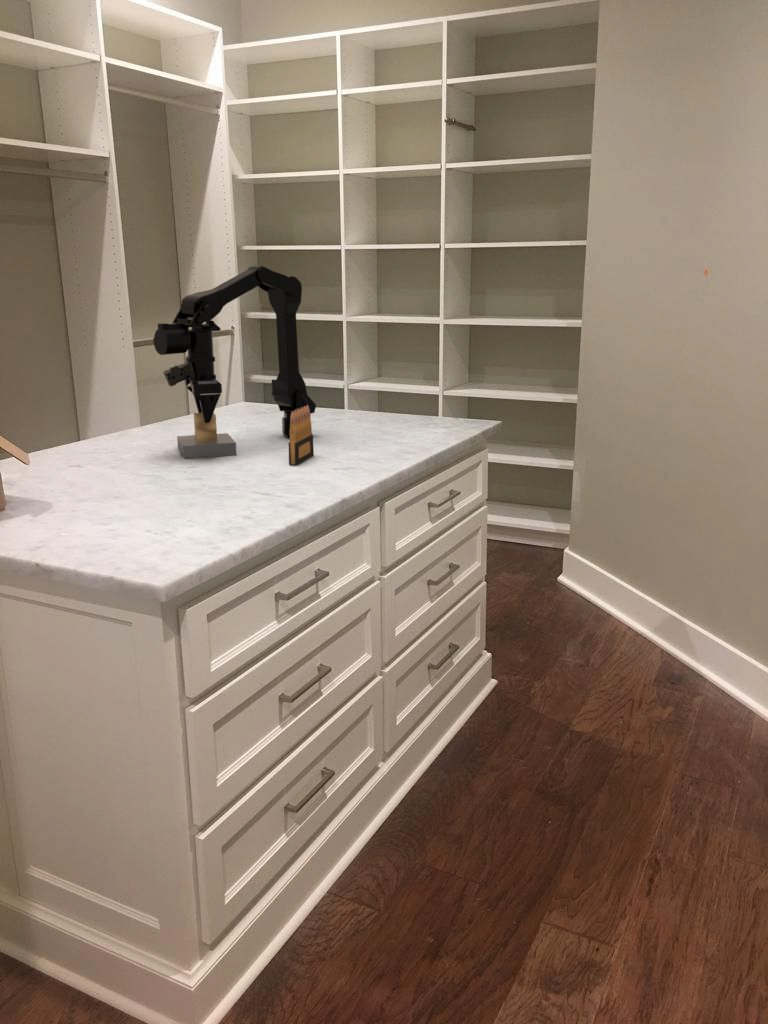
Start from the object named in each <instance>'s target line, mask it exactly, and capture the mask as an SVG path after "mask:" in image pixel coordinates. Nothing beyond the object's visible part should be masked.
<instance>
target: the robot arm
mask: <svg viewBox="0 0 768 1024" xmlns="http://www.w3.org/2000/svg"><path fill="white" fill-rule="evenodd" d="M255 288H259V289H260V291H261V290H262V291H264V292H266V293H267V296H268V300H269V304H270V306H271V307H272V310H273V312H274V313H275V317H276V318H275V320H276V338H277V339H276V340H277V354H278V355H277V356H278V369H279V370H278V371H279V372H278V375H277V377H276V379H271V383H270V384H271V389H272V390H271V391H272V392H271V396H273V399H274V401H275V403H276V404H277V406H278V409H279V411H280V412H283V417H282V418H281V424H282V425H281V427H282V429H281V430H282V435H284V436H285V437H286V438H287V439H290V418H291V413H292V411H293V412H295V410H298V408H299V409H301V407H302V408H303V407H304V406H305V407H306V406H307V405H308V406H309V410H310V415H311V414H314V413H316V412H315V411H316V407H317V404H316V403H315V402H314V400H312V399H311V397H310V396H309V395H308V391H307V386H306V382H305V380H304V378H303V376H302V374H301V373H300V367H299V366H300V365H299V346H298V345H299V344H298V330H297V325H298V323H297V312H298V310H299V308H300V305H301V302H302V293H303V285H302V282H301V281H300V280H299V279H298V278H297V277H296V276H290V275H289V276H288V275H285V274H282V273H280V272H277V271H274V270H271V269H270V268H267V267H266V266H263V265H252V266H250V267H248V268H247V269H246V270H244V271H243V272H241V273H239V274H237V275H234V276H233V277H231V278H230V279H228V280H226V281H224V282H222V283H221V284H218V285H217V286H215V287H214V288H211V289H208V290H203V291H198V292H194V293H191V294H188V295H185V296H184V297H183V298H182V300H181V304H180V308H179V310H178V311H177V313H176V315H175V316H174V319H173V321H172V323H164V322H160V323H159V322H158V323H157V329H156V330H155V331H154V337H153V339H152V340H153V341H152V342H153V346H154V349H155V351H156V353H157V354H158V355H160V356H165V355H167V356H168V355H179V354H186V352H187V355H186V357H185V362H184V363H182V364H178V365H177V364H175V365H174V366H173V367H169V368H168V369H166V370H164V371H162V373H163V375H164V378H165V380H166V382H167V385H168V386H169V387H173V386H176V385H177V384H179V383H180V382H183V381H184V382H183V383H184V385H185V388H186V389H187V390H188V391H189V392H190V393H192V395H193V398H194V401H195V405H196V408H197V413H203V418H204V422H205V423H210V421H211V418H212V415H213V413H215V409H216V406H217V405H218V402H219V400H220V397H221V395H222V393H223V386H222V384H221V382H219V380H218V379H217V374H215V362H216V357H215V356H214V343H213V342H214V341H213V338H214V337H213V332H220V331H221V327H219V326H218V324H216V323H215V321H214V320H213V319H214V318H215V317H217V316H218V315H219V314H220V313H221V312H222V310H223V308H224V307H225V306H226V305H228V304H229V303H231V302H233V301H234V300H236V299H239V298H240V297H241V296H243V295H245V294H247V293H248V292H250V291H252V290H254V289H255ZM311 418H312V417H310V419H311Z"/></svg>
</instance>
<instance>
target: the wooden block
mask: <svg viewBox="0 0 768 1024" xmlns="http://www.w3.org/2000/svg"><path fill="white" fill-rule="evenodd" d="M193 424H194V435H195V439H196V440H197V442H202V441H217V434H218V431H217V416H216V414H215V412H213V415H212V418H211V421H210V423H205V422H204V418H203V413H198V412H193Z"/></svg>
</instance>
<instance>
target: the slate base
mask: <svg viewBox="0 0 768 1024" xmlns="http://www.w3.org/2000/svg"><path fill="white" fill-rule="evenodd" d="M176 439H177V440H176V441H177V449H178V451H179V453H180V454H181V455H180V456H181V457H182V458H183V460H189V459H190V460H192V459H202V458H218V457H219V458H220V457H230V456H231V457H233V455H234V456H237V442H236V441H235V439H233V438H232V436H230V434H229V433H228V432H227V433H226V432H225V433H222V432H221V433H217V441H202V442H197V440H196V439H195V434H194V435H193V434H192V435H178V436H176Z"/></svg>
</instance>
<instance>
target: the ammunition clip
mask: <svg viewBox="0 0 768 1024" xmlns="http://www.w3.org/2000/svg"><path fill="white" fill-rule="evenodd" d="M310 418H311V414H310V410H309V406H308V405H307V406H306V407H305V406H304V407H303V408H302V407H301V409H299V408H298V410H295V412H293V411H292V413H291V418H290V438H289V442H288V465H289V466H294V467H296V466H300V465H301V464H302V463H305V462H306V461H307V460H309V459H311V458H313V457H314V456H315V455H314V434H313V433H312V431H313V430H312V421H311V419H310Z"/></svg>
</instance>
